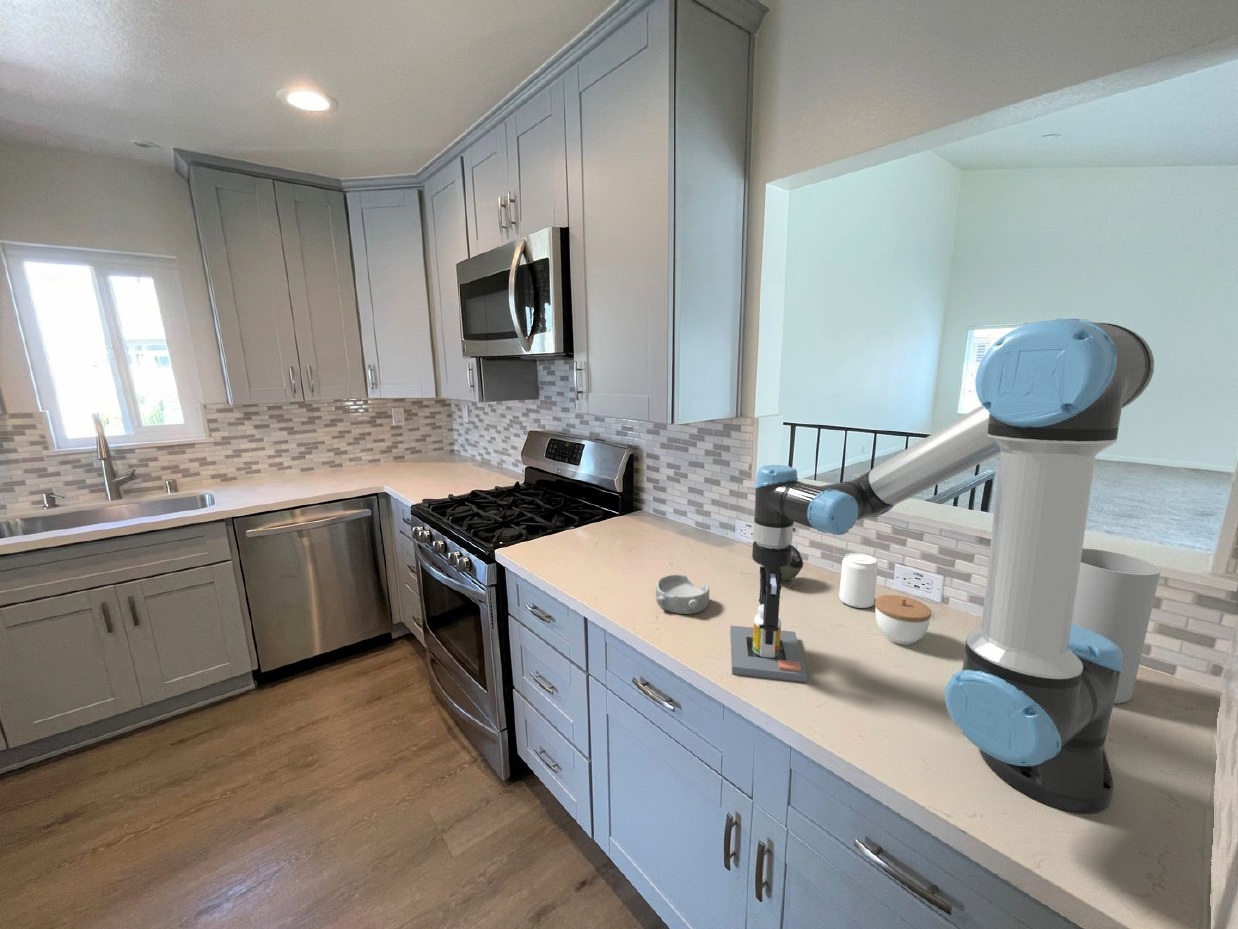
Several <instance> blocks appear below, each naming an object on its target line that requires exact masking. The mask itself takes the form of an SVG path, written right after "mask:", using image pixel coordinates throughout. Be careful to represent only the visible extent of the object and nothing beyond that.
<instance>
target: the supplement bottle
mask: <svg viewBox="0 0 1238 929" xmlns="http://www.w3.org/2000/svg"><path fill="white" fill-rule="evenodd" d="M757 608H758V609H757V614H756V615H755V617H754V618H753V628H754V631H753V651H754V652H755V653H756V654H757V655H759V656H760V650H761V633H762V628H759V624H760V625H763V615H764V604H762V605H760V604H759V606H758V607H757ZM781 628H782V621H781V619H780V618H779V617H778V631H776V641H775V656H774V657H776V656H777V655H778V654H779V647H780V633H781ZM765 658H770V657H765Z"/></svg>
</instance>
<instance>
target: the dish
mask: <svg viewBox="0 0 1238 929" xmlns="http://www.w3.org/2000/svg"><path fill="white" fill-rule="evenodd" d="M655 599H656V602H657V605H659V607H661V608H662V609H663V610H665V611H668V612H670V613H675V614H681V615H693V614H699V613H700V612H701V613H702V611H705V609H706V608H707V607H708V603H709V600H710V587H709V585H708V583H707V584H704V585H703V586H702V587H701V588H699V587H696V586H695V585H694V584H693V583H692V582H691V580H689V579H688V577H687V575H686V574H682V573H681V574H679V573H678V574H677V573H676V574H668V575H665V576H662V577H660V578H659V579H658V580H657V582H656V586H655Z"/></svg>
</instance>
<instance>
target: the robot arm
mask: <svg viewBox="0 0 1238 929" xmlns="http://www.w3.org/2000/svg"><path fill="white" fill-rule="evenodd" d="M1154 369H1155V358H1154V355H1153V352H1152V349H1151V348H1150V346H1149V344H1148V342H1147V341H1146V340H1145V339H1144V337H1142V336H1140V335H1139V334H1138V333H1136V332H1135V331H1133V330H1131V329H1129V328H1126V327H1124V326H1122V325H1118V324H1115V323H1114V324H1113V323H1106V322H1093V321H1087V320H1084V319H1079V318H1059V317H1058V318H1054V319H1048V320H1047V319H1046V320H1039V321H1034V322H1030V323H1027V324H1025V325H1022V326H1019V327H1017V328H1015V329H1013V330H1011V331H1008V333H1006V334H1004V335H1003V336H1002V337H1000V338H999V339H998V340H997V341H996V342H994V343H993V344H992V345H991V346H990V348H989V349H987V351H986V353H984V355H983V357H982V358H981V361H980V363H979V365H978V367H977V370H976V374H975V381H974V382H975V392H976V396H977V398H978V400H979V403H980V404H981V405H980V406H978V407H977V408H974V409H973V410H971V411H969V412H968V413H966V414H964V415H962V416H961V417H959V418H957V419H956V420H954V421H952V422H950V423H948V424H947V425H945V426H943V427H942V428H940V429H939V430H937V431H935V432H934V433H932V434H930V435H928V436H926V437H924V438H923V439H921V440H920V441H918V442H917V443H915V444H912V445H911V446H910V447H907V448H906V449H905V450H903V451H901V452H899V453H898V454H896V455H894V456H892V457H891V458H889V459H887V460H885V461H884V462H882V463H881V464H879V465H877V466H875V467H874V468H872V469H870V470H869V471H868V472H865V473H863V474H862V475H860V476H858V477H856V478H855V479H852V480H848V481H847V480H846V481H842V482H837V483H831V484H825V485H813V484H809V483H805V482H802V481H800V480H799V481H798V479H799V478H798V471H797V469H796V468H794V467H792V466H789V465H781V464H768V465H763V466H761V467H759V468H758V470H757V475H756V479H755V480H756V483H755V486H754V489H755V493H754V494H755V501H754V502H755V503H754V519H753V531H752V533H753V534H752V540H753V542H752V550H751V551H752V553H751V554H752V555H751V559H752V560H753V561H754V563H756V564H758V565H761V566H759V575H760V579H759V583H760V585H759V598H758V603H759V606H760V605H762V604H764V615H763V625H760V624H759V628H762V633H761V650H760V656H761V657H770V658H774V656H775V641H776V631H778V618H779V613H780V597H781V590H782V586H781V585H780V582H781V581H782V573H780V567H783V566H787V565H789V564H790V563H791V555H792V546H793V545H792V543H793V534H795V533H796V532H797V527H794V524H795V523H796V524H800V525H801V526H806V527H808V528H811V529H815V530H816V531H818V532H821V533H824V534H829V535H830V534H831V535H835V536H841V535H845V534H847V533H848V532H849V531H850V529H853V527H854V526H855V524H856V522H857V521H859V520H865V519H868V518H869V519H870V518H876V517H878V516H882V515H884V514H887V513H888V512H890V511H891V510H892V509H893V508H894V507H895V506H896V505H898V504H900V503H903V502H904V501H906V500H909V499H911V498H912V497H914V496H916V495H918V494H920V493H923V492H925V491H927V490H929V489H930V488H933V487H935V486H937V485H939V484H941V483H943V482H945V481H947V480H949V479H952V478H954V477H956V476H958V475H960V474H962V473H964V472H966V471H968V470H971V469H972V468H974V467H977V466H978V465H980V464H982V463H985V462H986V461H988V460H991V459H992V458H995V457H996V456H999V455H1000V456H999V464H998V473H997V484H996V491H995V500H994V510H993V522H992V528H991V538H990V548H989V557H988V565H987V566H988V567H987V575H986V584H985V591H984V602H983V610H982V620H981V626H979V627H976V628H974V629H973V630H970V631H969V632H968V633H967V634H966V639H965V645H964V646H965V647H964V653H963V656H964V657H963V664H962V665H963V666H962V669H961V670H960V671H957V672H956V673H954V674H952V676H951V678H950V680H948V682H947V684H946V686H945V688H944V700H945V706H946V708H947V709H946V710H947V711H948V713H949V715H950V717H951V719H952V721H953V722H954V724H955V725H957V726H958V727H959V728H960V730H961V731H962V734H963V735H964V737H966V739H967V740H968V741H970V742H971V743H972V745H974V746H976V747H977V748H978V749H979V752H980V755H981V757H982V759H983V762H985V764H987V766H988V767H989V768H990V769H991V771H992V772H993V773H994V774H996V775H997V777H999V778H1000V779H1002V781H1004V782H1005V783H1006V784H1008V785H1009V786H1011V787H1013V788H1014V789H1016V790H1017V791H1019V792H1021V793H1022V794H1024V795H1026V796H1028V797H1030V798H1032V799H1034V800H1036V801H1038V802H1041V803H1043V804H1045V805H1047V806H1051V807H1054V808H1056V809H1060V810H1063V811H1068V812H1073V813H1080V814H1094V813H1099V812H1102V811H1105V810H1106V809H1107V808H1108V807H1110V805H1111V801H1112V798H1113V793H1114V780H1113V776H1112V772H1111V767H1110V763H1109V758H1108V756H1107V750H1106V746H1105V743H1106V739H1107V734H1108V731H1109V725H1110V721H1111V718H1112V717H1111V715H1112V712H1113V707H1114V704H1115V703H1114V699H1115V695H1116V691H1117V686H1118V682H1119V677H1120V673H1121V672H1123V669H1122V661H1123V654H1122V651H1121V649H1120V648H1119V647H1118V646H1117V645H1116V644H1115V643H1113V642H1112V641H1110V640H1109V639H1107V638H1105V637H1104V636H1102V635H1099V634H1097V633H1095V632H1093V631H1090V630H1088V629H1085V628H1082V627H1080V626H1077V625H1074V624H1072V619H1073V612H1074V605H1075V597H1076V590H1077V583H1078V576H1079V569H1080V562H1081V555H1082V548H1084V538H1085V531H1086V525H1087V518H1088V512H1089V505H1090V504H1089V503H1090V496H1091V490H1092V482H1093V476H1094V470H1095V462H1096V456H1098V454H1099V453H1100V452H1102V451H1104V450H1105V449H1107V448H1109V447H1111V446H1112V445H1113V444H1116V443H1117V441H1118V440H1117V439H1118V433H1119V427H1120V422H1121V415H1122V410H1123V408H1125V407H1127V406H1129V405H1130V404H1131V403H1133V402H1134V401H1136V399H1138V398H1139V397H1140V396H1141V395H1142V394H1143V392H1144V391H1145V390H1146V389H1147V387H1149V384H1150V383H1151V381H1152V378H1153V375H1154V373H1155V370H1154ZM790 544H791V545H792V546H791V545H790Z"/></svg>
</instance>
